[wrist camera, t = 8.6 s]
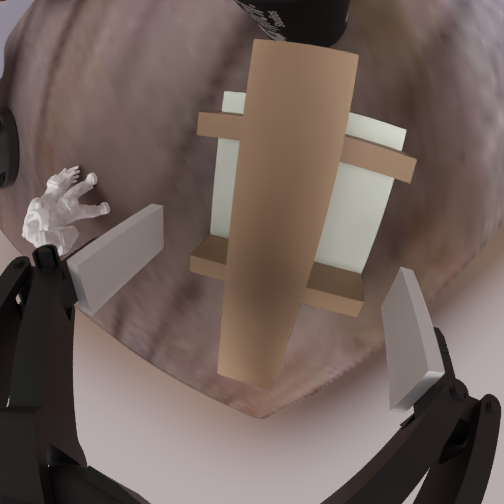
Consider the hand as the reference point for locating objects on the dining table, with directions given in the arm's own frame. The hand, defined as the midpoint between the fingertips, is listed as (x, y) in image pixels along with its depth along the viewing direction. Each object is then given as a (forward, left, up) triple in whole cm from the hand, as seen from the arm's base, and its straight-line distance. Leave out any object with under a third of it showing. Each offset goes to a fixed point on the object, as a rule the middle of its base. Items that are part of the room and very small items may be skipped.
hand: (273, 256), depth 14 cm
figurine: (-22, -3, -10) cm, 25 cm away
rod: (0, 0, -5) cm, 5 cm away
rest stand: (0, 0, -10) cm, 10 cm away
